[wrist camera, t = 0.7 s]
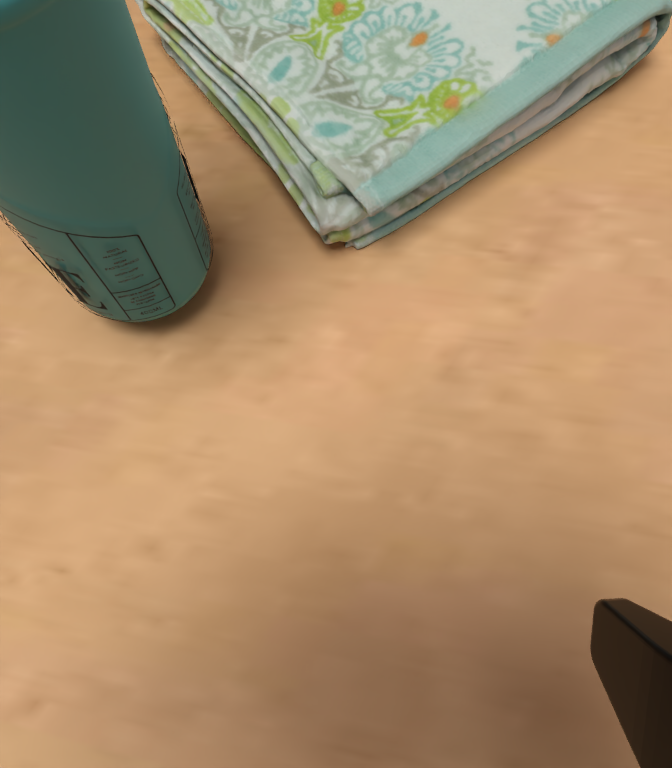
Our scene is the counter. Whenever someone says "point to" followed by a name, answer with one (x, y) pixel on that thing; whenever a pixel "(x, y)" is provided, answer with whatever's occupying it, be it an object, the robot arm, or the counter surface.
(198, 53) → the towel
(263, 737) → the counter surface
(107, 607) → the counter surface
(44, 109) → the beverage bottle
